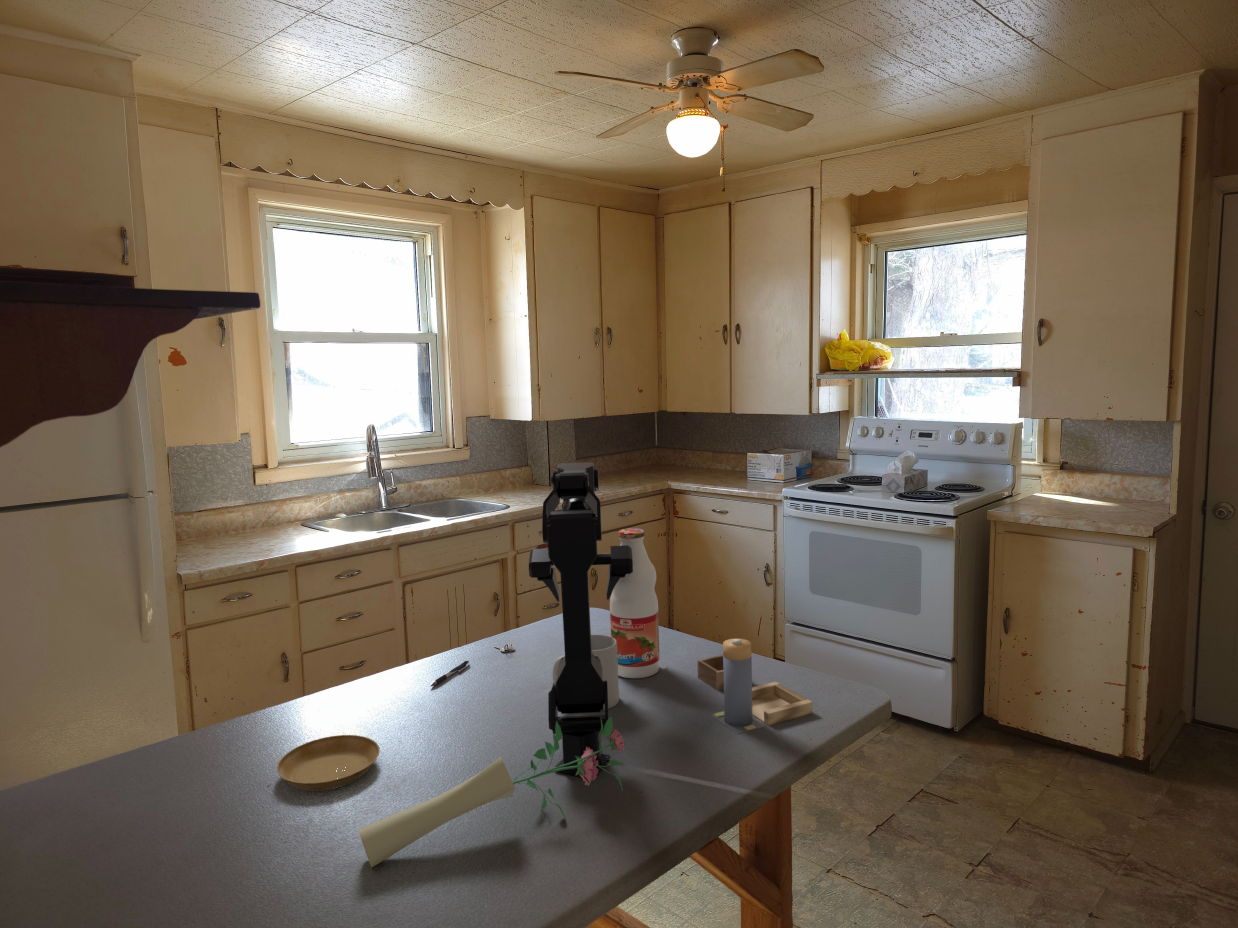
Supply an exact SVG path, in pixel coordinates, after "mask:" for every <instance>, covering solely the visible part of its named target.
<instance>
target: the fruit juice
mask: <svg viewBox="0 0 1238 928" xmlns="http://www.w3.org/2000/svg"><path fill="white" fill-rule="evenodd" d="M644 539H645V530H644V529H642V528H638V527H637V528H635V527H631V528H623V529H620V530H619V531H618V540H619V541H620V544H619V546H626V545H629V546H630V547H631V548H632V560H633V572H632V573H631V574H626V576H625V577H623V578H620V579H619V581H618V582H617V584H616V585H615V587H614V589H613V591H612V594H611V596H610V598H609V617H610V619H609V620H610V621H609V623H610V637H612V638H614V639H615V640H616V641H617V657H618V677H621V678H626V679H644V678H649V677H652V676H654V675H656V674H657V673H658V672H659V670H660V667H661V663H660V662H661V661H660V660H661V659H660V657H661V656H660V654H661V653H660V632H659V631H660V628H659V602H658V595H657V594H656V591H655V586H656V583H657V570H656V567H655V566H654V564H653V563H652V562H651V560H650V557H649V555H648V553H647V550H646V547H645V545H644Z"/></svg>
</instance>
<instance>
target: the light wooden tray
mask: <svg viewBox="0 0 1238 928" xmlns="http://www.w3.org/2000/svg"><path fill="white" fill-rule="evenodd" d="M812 714H813V701H812V700H810V699H808V698H806V697H804V696H802V695H801V694H799V693H797V692H795V691H794V690H792V689H790V688H788V687H787V686H784V685H783V684H782V683H780V682H778V681H772V682H769V683H764V684H760V685H757V686H752V716H753V717H755V718H757V719H758V720H760V721H761V722H763V723H764V724H766V725H767V727H768V726H773V725H777V724H780V723H783V722H787V721H792V720H795V719H798V718H802V717H805V716H809V715H812Z"/></svg>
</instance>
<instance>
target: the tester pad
mask: <svg viewBox="0 0 1238 928" xmlns="http://www.w3.org/2000/svg"><path fill="white" fill-rule="evenodd" d="M711 716H712V717H713V718H714V719H716V721H718V722H720V723H721V724H723V725H724V726H725V727H727V728H728V729H730V730H731V731H732V732H733V733H736V734H737V735H738V734H742V733H747V732H750V731H755V730H758V729H761V728H765V727H768V725H767V724H765V723H763V722H762V721H760V720H759V719H757V718H756V717H754V716H753V715H752V718H753V721H752V723H751V724H749V725H746V726H732V725H729V724H727V723H726V722H725V718H724V710H723V711H718V712H715V713H711V714H710V717H711Z"/></svg>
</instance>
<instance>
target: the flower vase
mask: <svg viewBox="0 0 1238 928" xmlns="http://www.w3.org/2000/svg"><path fill="white" fill-rule="evenodd" d="M600 719H601V717H600ZM613 725H614V724H613V718H612V716H610V717H609V719H608V720H607V722H606V724H605V726H604V728H603V725H602V720H601V731H600V734H601V735H603V736H602V737H601V742H600V741H599V742H600V744H601V745H602V741H603V738H604V737H605V736H607V737H608V736H609V738H607V740H608V741H609V744H608V745H606V746H605V747H603V748H602V747H601V749H600V746H599V751H597V752H595V753H594V752H593V750H590V748H589V747H588V748H589V749H588V748H587V747H586V751H584V754H583V755H582V756H581V758H580V759H579V757H577V756H575V757H576V759H577V760H576V761H573V762H570V763H567V764H564V765H561V766H558V767H555V766H554V767H552V768H550V769H549V767H550V765H551V764H552V762H553V760H554V759H553V758H554V754H555V752H556V751H558V750H559V749H560V744H559V741H562V732H561V728H560V726H559V724H558V722H557V721H556V726H555V733H556V734H554V733H553V732H552V737H553V738H552V741H553V744H552V743H551V742H549V741H544V744H545V748H540V749H538V750H537V751H536V752H535V753H534V754H533V757H535V758H537V759H539V762H538V763H537V764H535V763H534V760H533V759H530V767H529V768H528V769H527V770H525V771H524V772H522V773H521V774H519V775H518V776H516V777H514V779H513V780H512V778H511V775H510V774H509V771H508V769H507V767H506V764H505V762H504V760H503V758H502V756H499V757H498V758H497V759H496V760H494V761H493V762H492V763H490V764H489V765H488V766H486V767H485V768H484V769H482V770H481V771H480V772H478V773H477V774H476V775H475V774H474V775H473V776H472V777H470V778H469V779H467V780H465V781H463V782H461V783H459V784H457V785H455V786H454V787H452V788H450V789H448V790H446V791H444V792H442V793H440V794H439V795H436V796H435V797H433V798H431V799H428V800H426V801H423V802H420V803H419V804H416V805H413V806H411V807H408V808H405V809H403V810H401V811H398V812H395V813H393V814H391V815H389V816H387V817H384V818H381V819H380V820H377V821H375V822H372V823H370V824H367V825H365V826H362V827H359V828H358V829H357V831H358V834H359V837H360V840H361V843H362V846H363V849H364V852H365V854H366V857H367V860H368V863H369V865H370V868H371V869H372V868H374V867H375V866H377V865H378V864H380V863H382V862H383V861H385V860H386V859H388V858H390V857H391V856H393V855H395V854H396V853H398V852H400V851H402V850H403V849H405V848H407V847H408V846H410V845H411V844H413V843H415V842H417V841H418V840H419V839H421V838H423V837H425V836H427V835H428V834H430V833H431V832H433V831H434V830H436V829H438V828H440V827H441V826H443V825H445V824H446V823H448V822H450V821H452V820H455V819H456V818H459V817H461V816H463V815H465V814H468V813H470V812H472V811H473V810H476V809H478V808H480V807H482V806H484V805H487V804H489V803H492V802H496V801H499V800H502V799H507V798H510V797H511V798H512V797H513V796H514V792H515V789H516V786H515V785H516V784H519V785H521V783H522V782H527V783H526V785H527V786H529V787H531V788H532V789H535V790H536V791H537V792H539V790H540V791H541V792H542V794H543V795H542V797H543V798H542V801H541V802H542V803H541V808H540V811H541V810H544V809H546V807H547V805H548V801H549V802H550V803H551V804H552V805H555V806H557V808H559V811H560V812H561V814H562V816H563V819H564V820H565V822H567V818H566V816H565V813H564V811H563V809H562V807H561V806H560V805H559V804H558V803H554V802H552V801H551V800H550V799H549V798H548V796H547V795H546V794H545V792H546V793H548V794H549V795H550V796H551V798H553V799H554V801H556V799H555V795H554V793H553V789H552V788H551V787H548V791H546V790H545V789H543V788H540V787H539V785H537V784H536V783H535V782H533V781H532V779H536V778H538V777H542V776H545V775H548V774H553V773H556V772H558V771H561V770H566V769H572V768H578V771H577V773H576V775H574V776H577V775H578V774H579V775H580V776H579V777H581V778H582V781H583V782H584V785H585V786H587V787H589V786H590V784H591V783H592V781H595V780H596V778H597V777H598V776H597V774H599V772H598V769H597V768H596V766H598V767H600V768H601V767H603V768H602V769H601V770H603V771H605V772H607V773H609V774H611V775H613V776H614V777H615V778H616V779H617V780H618V783H619V786H620V788H621V792H624V791H623V785H622V783H621V779H620V776H619V775H618V773H615V774H614V773H612V772H610V771H608V770H606V769H604V768H605V767H608V766H610V765H611V766H615V765H616V766H621V765H622V766H623V765H624V763H623V762H621V761H619V760H616V759H609V760H610V761H609V762H608V764H606V765H605V766H599V765H598V760H595V759H596V757H597V756H596V754H597V753H598V752H600V751H601V752H603V751H604V750H606V749H607V748H609V747H610V749H611V751H613V750H615V751H618V753H623V752H624V750H625V741H624V737H623V736H622V734H621V733H620V732H619V731H618V730H616V729H615V728H613V727H614V726H613ZM600 734H599V735H600ZM598 739H599V737H598ZM547 754H548V755H549V757H550V762H549V764H548V767H547V768H546V769H545V770H544V771H541V772H539V773H536V771H537V769H538V768H537V767H538V765H539V764H540V762H541V761H542V760H548V756H547ZM594 754H595V755H594ZM575 762H578V765H577V766H570V767H564V766H567V765H570V764H573V763H575ZM561 767H563V768H561ZM558 768H559V769H558ZM530 769H532V770H534V771H533V775H531V776H527V777H525V778H524V777H523V778H520V779H518V780H517V778H518V777H520V776H521V775H523V774H525V773H526V772H528V771H529V770H530Z"/></svg>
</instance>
